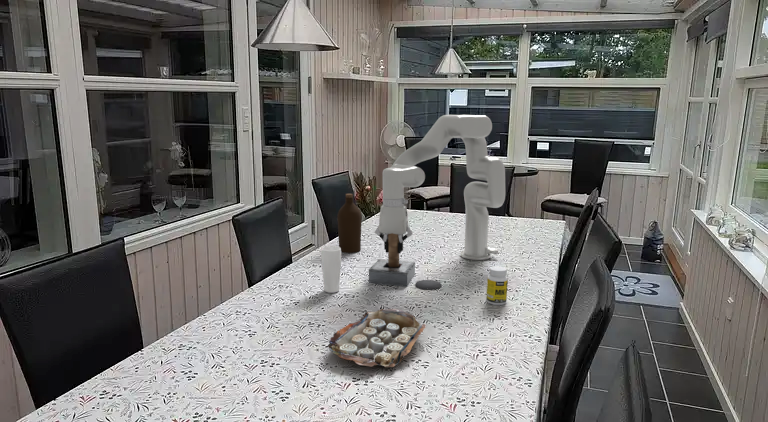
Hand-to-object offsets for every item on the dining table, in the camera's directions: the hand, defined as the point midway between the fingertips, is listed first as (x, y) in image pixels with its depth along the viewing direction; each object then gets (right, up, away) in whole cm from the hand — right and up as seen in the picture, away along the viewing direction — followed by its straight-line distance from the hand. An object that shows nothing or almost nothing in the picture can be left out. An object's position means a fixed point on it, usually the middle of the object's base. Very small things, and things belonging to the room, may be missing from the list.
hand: (393, 251), depth 192 cm
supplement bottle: (+33, -15, -21) cm, 42 cm away
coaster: (+12, -12, -6) cm, 18 cm away
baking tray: (-5, -22, -53) cm, 58 cm away
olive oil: (-18, -3, +40) cm, 44 cm away
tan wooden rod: (0, -5, +1) cm, 5 cm away
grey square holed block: (0, -10, +2) cm, 10 cm away
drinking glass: (-21, -13, -11) cm, 27 cm away
